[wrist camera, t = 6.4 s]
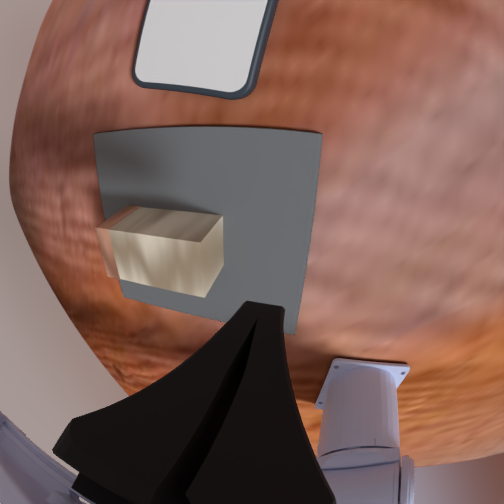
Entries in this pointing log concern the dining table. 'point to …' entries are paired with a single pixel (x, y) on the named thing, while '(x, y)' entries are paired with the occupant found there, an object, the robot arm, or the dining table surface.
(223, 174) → the rubber mat
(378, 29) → the dining table surface
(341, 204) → the dining table surface
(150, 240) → the maple block
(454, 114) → the dining table surface
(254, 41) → the phone case
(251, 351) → the robot arm
